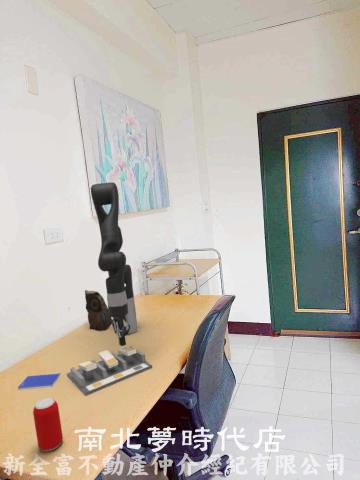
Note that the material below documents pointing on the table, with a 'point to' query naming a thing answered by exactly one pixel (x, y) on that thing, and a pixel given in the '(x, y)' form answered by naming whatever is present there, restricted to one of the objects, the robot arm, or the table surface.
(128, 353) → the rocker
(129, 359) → the switch unit
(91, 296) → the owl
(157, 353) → the table surface
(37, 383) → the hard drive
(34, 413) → the beverage can
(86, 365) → the rocker
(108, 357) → the rocker middle
